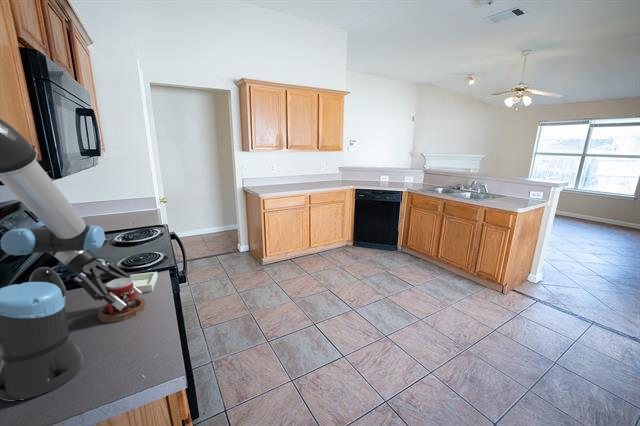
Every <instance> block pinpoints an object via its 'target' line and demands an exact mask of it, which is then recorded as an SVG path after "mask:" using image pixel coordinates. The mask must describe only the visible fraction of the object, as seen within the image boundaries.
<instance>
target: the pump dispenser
mask: <svg viewBox="0 0 640 426" xmlns="http://www.w3.org/2000/svg"><path fill="white" fill-rule="evenodd" d="M28 282H47V283H52V284H54V285H56V286H58V287H59V288H60V289H61V292H62V295H63V298H64V300H65V301H66V297H67V289H66V286H65V284H64V282H63V280H62V279H61V277H60V275H59V274H58V273H57V272H56V270H55V269H52V268H50V267H48V266H42V267H38V268H36V269H35V270H34V271H33V272H32V273H31V275H30V276H29V280H28Z"/></svg>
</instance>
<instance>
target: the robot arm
mask: <svg viewBox="0 0 640 426" xmlns="http://www.w3.org/2000/svg"><path fill="white" fill-rule="evenodd" d="M37 157H38V153H37V151H36V150H35V148H34V147H33V146H32V145H31V143H30V142H29V141H28V140H27V139H26V138H25V137H24V135H22V134H21V133H20V132H19V131H17V130H16V129H15V128H14V127H13V126H11V124H9V123H8V122H7V121H5V120H3V119H2V118H0V182H1V183H2V184H3V185H4V186H5V187H6V188H7V189H8V190H10V191H11V193H12V194H13V195H14V196H15V197H17V199H18V200H19V201H20V202H22V203H23V205H25V207H26V208H28V210H29V211H30V212H31V213H32V214H33V215H34V216H35V217H36V218H37V219H38V220H40V221H38V222H36V223H34V224H33V225H31V226H30V227H26V228H25V227H24V228H22V227H19V228H16V229H12V230H8V231H6V232H5V233H4V234H3V235H2V236H1V238H0V247H1V250H3V251H4V252H5V253H6V254H8V255H12V256H22V255H23V256H26V255H29V254H43V253H49V254H51V255H52V256H53V257H54V258H56V259H57V260H58V261H59V262H60V263H62V264H63V265H66V267H67V268H68V269H69V270H70V271H72V272H73V273H74V274H77V275H76V276H75V277H74V278H73V281H74V282H75V283H77V284H78V285H79V286H81V288H82V289H84V291H85V292H86V293H87V294H88V295H89V296H90V297H91V298H92V299H93V300H94V301H102V300H104V301H106V303H107V304H108V303H109V304H112V305H113V306H115V307H116V308H117V309H118V310H120V311H121V310H122V309H123V308H124V307H125V306H126V305H127V304H125V303H124V302H123V301H122V300H120V299H119V298H118V297H117V296H115V295H114V294H113V293H112V292H110V293H109V294H108V292H107V290H106V285H104V283H103V282H102V280H101V278H106V279H108V280H110V281H112V280H115V279H119V278H130V275H131V274H128V273H127V272H125V271H124V270H122V269H121V268H120V267H118V266H116V265H115V264H113V263H112V262H111V260H109V259H106V261H103V262H101V261H99V260H98V257H97V255H95V254H94V252H92V251H93V250H94V251H95V250H99V249H100V248H102V247H103V245H104V243H105V239H106V238H105V237H106V236H105V231H104V229H103V228H102V227H100V225H99V226H98V225H88V224H87V223H86V221H85V220H84V219H83V218H82V216H81V215H80V214H79V213H78V211H77V210H76V209H75V208H74V206H72V204H71V202H69V200H68V199H67V197H66V196H65V195H64V194H63V192H62V191H61V190H60V189H59V188H58V186H57V185H56V183H54V181H53V180H52V178H51V177H50V176H49V175H48V173H47V172H46V171H45V170H44V169H43V167H42V166H41V165H40V163H39V162H38V161H37ZM133 288H134V297H135V298H137V297H139V296H140V295H141V294H143V293H142V292H141V291H140V290H138V289H137V288H136V287H135V286H134V285H133ZM67 317H68V316H67V312H66V299H65V300H64V298H63V295H62V292H61V289H60V288H59V287H58V286H56V285H54V284H52V283H47V282H29V281H27V282H22V283H20V284H17V283H15V284H10V285H8V286H7V285H6V286H3V287H1V288H0V358H1V363H0V398H2V399H7V400H20V399H26V398H30V399H32V398H31V397H34V398H36V397H35V396H37V397H39V396H41V395H40V394H42V395H44V394H43V393H45V394H47V393H49V392H51V391H53V390H55V389H57V388H59V387H60V386H63V385H64V384H65V383H67V382H69V380H72V379H73V377H75V376H76V375H77V374H78V373H79V372H80V370H81V369H82V367H83V366H84V356H83V352H82V351H81V349H80V348H79V347H78V346H77V344H76V343H75V342H74V340H73V339H72V338H71V335H70V329H69V324H68V318H67ZM46 392H47V393H46ZM38 395H39V396H38Z"/></svg>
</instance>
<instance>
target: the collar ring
mask: <svg viewBox="0 0 640 426" xmlns="http://www.w3.org/2000/svg"><path fill="white" fill-rule="evenodd" d="M135 304H138V306H137V307H135V309H134V310H132V311H129V312H126V313H124V314H118V315H110V314H106V313H107V312H109V307H108V303H106V304H104V305H103V306H101V307H100V308H99V310H98V311H97V313H96V314H97V318H98V319H99V321H100V322H104V323H115V322H116V323H117V322H122V321H126V320H128V319H131V318H133V317H136V316H138V315H139V314H141V313H142V312H143V311H145V309H146V306H147V304H146V300H145V299H144V298H143V297H139V296H138V297H137V298H135Z"/></svg>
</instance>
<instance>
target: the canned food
mask: <svg viewBox="0 0 640 426" xmlns="http://www.w3.org/2000/svg"><path fill="white" fill-rule="evenodd" d="M105 288H106V290H107V292H108V294H109V293H110V292H112V293H113V294H114V295H115V296H117V297H118V298H119V299H120V300H122V301H123V302H124V303H125V304H127V305H126V306H125V307H124V308H123V309H122V310H121V311H120V310H118V309H117V308H116V307H115V306H113V305H112V304H109V303H108V302H107V304H108V307H109V310H108V313H109V315H118V314H124V313H126V312H129V311H132V310H134V309H135V308H136V303H135V297H134V288H133V281H132V279H131V278H119V279H115V280H110V281H108V282H107V283H106V284H105Z"/></svg>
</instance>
